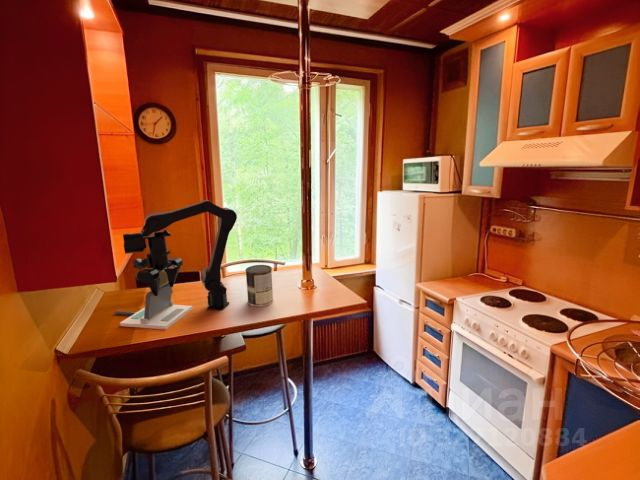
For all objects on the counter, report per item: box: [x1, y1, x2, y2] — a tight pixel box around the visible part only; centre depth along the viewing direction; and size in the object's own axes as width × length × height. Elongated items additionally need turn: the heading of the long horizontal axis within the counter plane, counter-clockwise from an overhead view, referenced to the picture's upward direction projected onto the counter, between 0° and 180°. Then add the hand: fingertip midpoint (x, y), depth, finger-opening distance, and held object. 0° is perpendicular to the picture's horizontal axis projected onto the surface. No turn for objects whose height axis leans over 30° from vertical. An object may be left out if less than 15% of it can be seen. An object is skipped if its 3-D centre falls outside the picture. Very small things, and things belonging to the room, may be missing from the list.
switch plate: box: [114, 300, 194, 330], centre depth 128 cm, size 27×17×3 cm, turn 80°
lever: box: [144, 282, 173, 320], centre depth 126 cm, size 2×14×11 cm, turn 170°
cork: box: [158, 270, 174, 295], centre depth 150 cm, size 6×6×11 cm
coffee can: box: [245, 264, 274, 308], centre depth 139 cm, size 10×10×14 cm
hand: (164, 291), depth 125 cm, fingers open, 9 cm apart
